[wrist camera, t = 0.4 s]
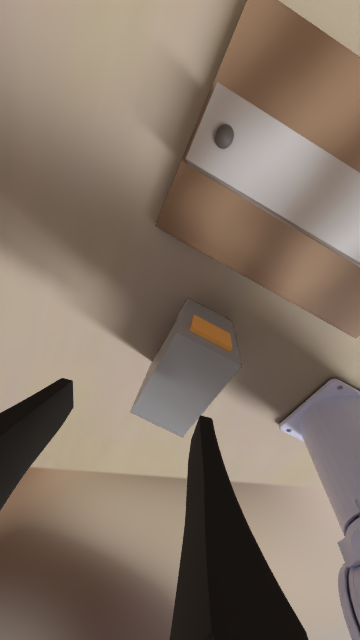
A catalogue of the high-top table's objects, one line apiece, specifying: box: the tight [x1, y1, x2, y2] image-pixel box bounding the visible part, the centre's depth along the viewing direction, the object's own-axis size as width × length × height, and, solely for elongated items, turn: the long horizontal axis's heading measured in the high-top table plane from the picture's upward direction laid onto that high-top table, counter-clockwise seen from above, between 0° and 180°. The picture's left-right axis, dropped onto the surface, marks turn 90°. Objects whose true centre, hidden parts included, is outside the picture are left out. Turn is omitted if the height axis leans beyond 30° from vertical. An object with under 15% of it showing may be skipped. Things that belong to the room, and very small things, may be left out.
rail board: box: [155, 0, 360, 338], centre depth 13 cm, size 18×12×3 cm, turn 63°
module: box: [130, 298, 242, 437], centre depth 17 cm, size 4×8×6 cm, turn 153°
